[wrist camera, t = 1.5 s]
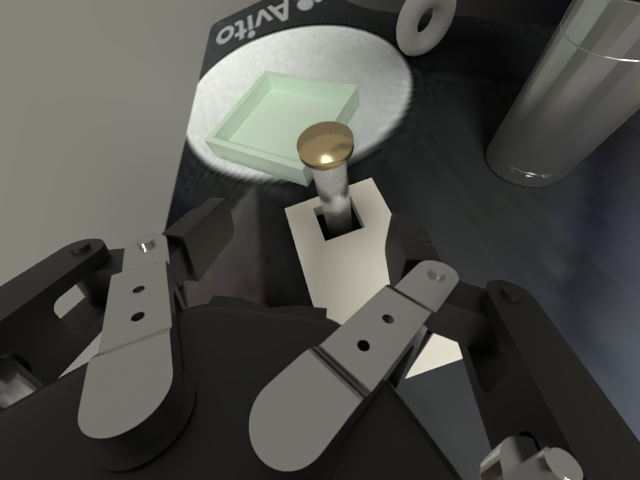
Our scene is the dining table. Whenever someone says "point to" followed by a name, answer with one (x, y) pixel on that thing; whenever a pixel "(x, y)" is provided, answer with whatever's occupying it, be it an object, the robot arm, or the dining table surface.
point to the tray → (280, 122)
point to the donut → (433, 33)
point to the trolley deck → (354, 264)
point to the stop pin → (329, 170)
